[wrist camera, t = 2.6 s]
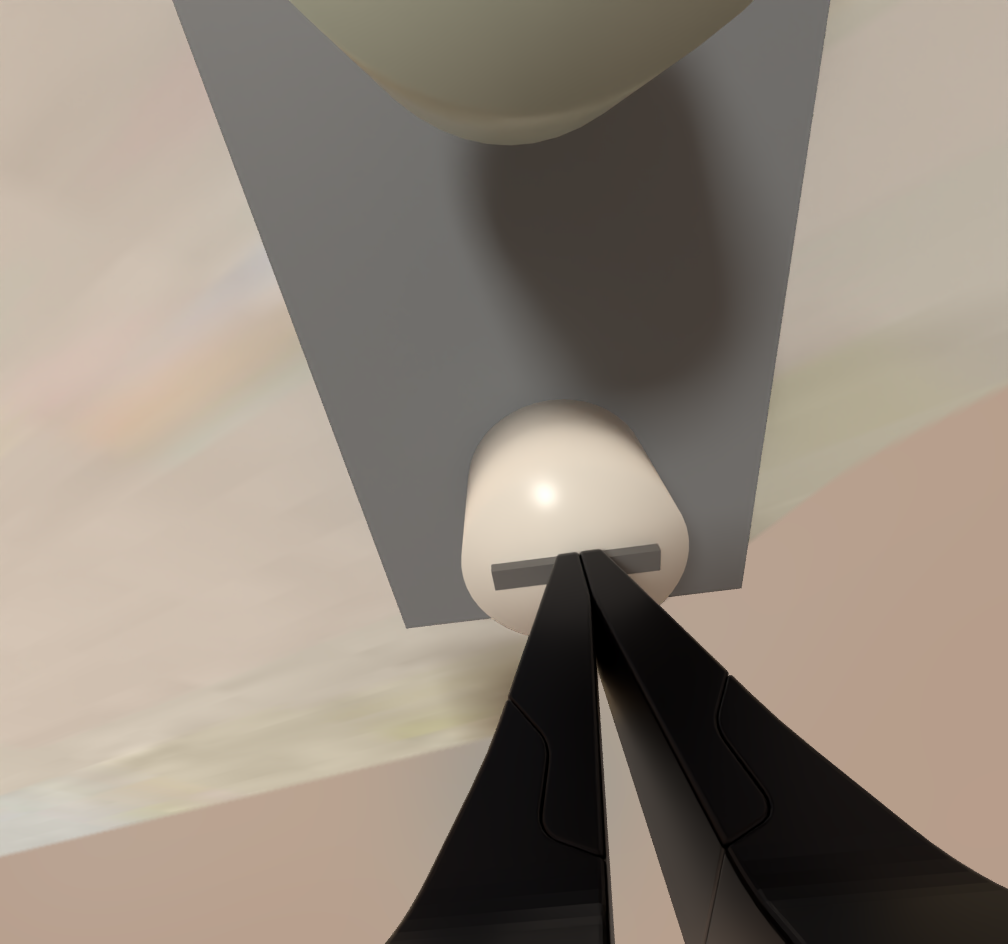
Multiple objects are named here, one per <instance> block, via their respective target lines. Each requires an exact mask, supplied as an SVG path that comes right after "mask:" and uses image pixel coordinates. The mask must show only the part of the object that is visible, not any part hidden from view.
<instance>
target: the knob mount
mask: <svg viewBox="0 0 1008 944" xmlns="http://www.w3.org/2000/svg"><path fill="white" fill-rule="evenodd" d="M173 3H174V6H175V8H176V11H177V14H178V17H179V19H180V22H181V25H182V27H183V30H184V33H185V35H186V38H187V41H188V43H189V46H190V49H191V51H192V54H193V57H194V60H195V62H196V65H197V68H198V70H199V73H200V76H201V78H202V81H203V84H204V86H205V89H206V92H207V94H208V97H209V100H210V102H211V105H212V108H213V111H214V113H215V116H216V119H217V121H218V124H219V127H220V129H221V132H222V135H223V137H224V140H225V143H226V145H227V148H228V151H229V153H230V156H231V159H232V162H233V164H234V167H235V170H236V172H237V175H238V178H239V180H240V183H241V186H242V188H243V191H244V194H245V196H246V199H247V202H248V204H249V207H250V210H251V213H252V215H253V218H254V221H255V223H256V226H257V229H258V231H259V234H260V237H261V239H262V242H263V245H264V247H265V250H266V253H267V255H268V258H269V261H270V264H271V266H272V269H273V272H274V274H275V277H276V280H277V282H278V285H279V288H280V290H281V293H282V296H283V298H284V301H285V304H286V307H287V309H288V312H289V315H290V317H291V320H292V323H293V325H294V328H295V331H296V333H297V336H298V339H299V341H300V344H301V347H302V349H303V352H304V355H305V358H306V360H307V363H308V366H309V368H310V371H311V374H312V376H313V379H314V382H315V384H316V387H317V390H318V392H319V395H320V398H321V400H322V403H323V406H324V409H325V411H326V414H327V417H328V419H329V422H330V425H331V427H332V430H333V433H334V435H335V438H336V441H337V443H338V446H339V449H340V451H341V454H342V457H343V460H344V462H345V465H346V468H347V470H348V473H349V476H350V478H351V481H352V484H353V486H354V489H355V492H356V494H357V497H358V500H359V503H360V505H361V508H362V511H363V513H364V516H365V519H366V521H367V524H368V527H369V529H370V532H371V535H372V537H373V540H374V543H375V545H376V548H377V551H378V554H379V556H380V559H381V562H382V564H383V567H384V570H385V572H386V575H387V578H388V580H389V583H390V586H391V588H392V591H393V594H394V596H395V599H396V602H397V605H398V607H399V610H400V613H401V615H402V618H403V621H404V623H405V626H406V628H414V627H422V626H431V625H439V624H447V623H456V622H464V621H472V620H481V619H489V618H491V617H490V616H488V615H487V614H486V613H485V612H484V611H483V610H482V609H481V608H480V607H479V606H478V605H477V603H476V602H475V601H474V600H473V598H472V597H471V595H470V593H469V591H468V589H467V587H466V584H465V581H464V578H463V573H462V567H461V555H462V543H463V532H464V520H465V509H466V498H467V486H468V475H469V469H470V463H471V460H472V457H473V454H474V452H475V450H476V448H477V446H478V444H479V443H480V442H481V440H482V439H483V437H484V436H485V435H486V434H487V432H488V431H489V430H490V429H491V428H492V427H493V426H494V425H495V424H497V423H498V422H499V421H500V420H501V419H503V418H504V417H506V416H508V415H509V414H511V413H512V412H514V411H516V410H518V409H521V408H523V407H525V406H528V405H531V404H534V403H538V402H543V401H548V400H560V399H563V400H577V401H583V402H588V403H591V404H594V405H597V406H600V407H602V408H604V409H606V410H608V411H610V412H611V413H613V414H615V415H616V416H618V417H619V418H620V419H621V420H622V421H624V422H625V423H626V424H627V425H628V426H629V428H630V429H631V430H632V431H633V432H634V434H635V436H636V437H637V439H638V441H639V442H640V444H641V446H642V447H643V449H644V451H645V453H646V454H647V456H648V458H649V459H650V461H651V463H652V465H653V466H654V468H655V470H656V471H657V473H658V475H659V477H660V478H661V480H662V482H663V483H664V485H665V487H666V489H667V490H668V492H669V494H670V495H671V497H672V499H673V501H674V502H675V504H676V506H677V507H678V509H679V511H680V513H681V514H682V516H683V519H684V521H685V524H686V526H687V531H688V536H689V553H688V559H687V563H686V566H685V569H684V572H683V574H682V576H681V578H680V580H679V582H678V584H677V585H676V587H675V588H674V590H673V591H672V593H671V594H670V595H669V596H668V597H672V596H680V595H689V594H697V593H705V592H714V591H722V590H730V589H739V588H741V587H742V581H743V574H744V568H745V561H746V554H747V548H748V541H749V535H750V528H751V521H752V515H753V508H754V501H755V495H756V488H757V482H758V475H759V468H760V462H761V455H762V448H763V442H764V435H765V429H766V422H767V415H768V409H769V402H770V395H771V389H772V382H773V376H774V369H775V362H776V356H777V349H778V342H779V336H780V329H781V323H782V316H783V309H784V303H785V296H786V289H787V283H788V276H789V270H790V263H791V256H792V250H793V243H794V236H795V230H796V223H797V217H798V210H799V203H800V197H801V190H802V183H803V177H804V170H805V164H806V157H807V150H808V144H809V137H810V131H811V124H812V117H813V111H814V104H815V97H816V91H817V84H818V78H819V71H820V64H821V58H822V51H823V44H824V38H825V31H826V25H827V18H828V11H829V5H830V0H753V1H752V2H751V3H750V4H749V5H748V6H747V7H746V8H745V9H744V10H743V11H742V12H741V13H740V14H739V15H737V16H736V17H735V18H734V19H732V20H731V21H730V22H729V23H727V24H726V25H725V26H724V27H722V28H721V29H720V30H719V31H717V32H716V33H715V34H714V35H712V36H711V37H710V38H709V39H707V40H706V41H705V42H704V43H702V44H701V45H700V46H698V47H697V48H696V49H694V50H693V51H691V52H690V53H689V54H687V55H686V56H684V57H683V58H681V59H680V60H679V61H677V62H676V63H674V64H673V65H672V66H670V67H669V68H667V69H666V70H664V71H663V72H662V73H660V74H659V75H657V76H656V77H655V78H653V79H652V80H650V81H649V82H647V83H646V84H645V85H643V86H642V87H640V88H639V89H638V90H636V91H635V92H633V93H632V94H630V95H629V96H628V97H626V98H625V99H623V100H622V101H621V102H619V103H618V104H616V105H615V106H613V107H612V108H611V109H609V110H608V111H606V112H605V113H604V114H602V115H600V116H599V117H597V118H595V119H594V120H592V121H590V122H589V123H587V124H585V125H584V126H582V127H580V128H578V129H576V130H573V131H571V132H569V133H566V134H564V135H562V136H559V137H556V138H552V139H548V140H545V141H541V142H537V143H530V144H520V145H495V144H485V143H480V142H476V141H471V140H467V139H463V138H460V137H458V136H455V135H452V134H450V133H447V132H445V131H442V130H440V129H438V128H436V127H434V126H433V125H431V124H429V123H427V122H426V121H424V120H422V119H420V118H418V117H417V116H415V115H414V114H413V113H411V112H410V111H409V110H408V109H406V108H405V107H404V106H402V105H401V104H400V103H398V102H397V101H396V100H394V99H393V98H392V97H391V96H390V95H389V94H388V93H387V92H386V91H385V90H384V89H383V88H382V87H380V86H379V85H378V84H377V83H376V82H375V81H374V80H373V79H372V78H371V77H370V76H369V75H368V74H367V73H365V72H364V71H363V70H362V69H361V68H360V67H359V66H358V65H357V64H356V63H355V62H354V61H353V60H351V59H350V58H349V57H348V56H347V55H346V54H345V53H344V52H343V51H342V50H341V49H340V48H339V47H338V46H336V45H335V44H334V43H333V42H332V41H331V40H330V39H329V38H328V37H327V36H326V35H325V34H324V33H322V32H321V31H320V30H319V29H318V28H317V27H316V26H315V25H314V24H313V23H312V22H311V21H310V20H309V19H307V18H306V17H305V16H304V15H303V14H302V13H301V12H300V11H299V10H298V9H297V8H296V7H295V6H294V5H293V4H292V3H291V2H290V1H289V0H173Z"/></svg>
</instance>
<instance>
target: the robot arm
mask: <svg viewBox="0 0 1008 944" xmlns="http://www.w3.org/2000/svg"><path fill="white" fill-rule="evenodd" d="M597 668H598V671H599V675H600V678H601V682H602V685H603V687H604V691H605V694H606V697H607V700H608V704H609V707H610V710H611V713H612V716H613V719H614V723H615V726H616V729H617V732H618V735H619V738H620V741H621V744H622V747H623V751H624V754H625V757H626V760H627V763H628V766H629V769H630V773H631V776H632V779H633V782H634V785H635V788H636V791H637V794H638V798H639V801H640V804H641V807H642V810H643V813H644V816H645V819H646V823H647V826H648V829H649V832H650V835H651V838H652V841H653V845H654V847H655V851H656V854H657V857H658V860H659V863H660V867H661V870H662V873H663V876H664V879H665V882H666V885H667V888H668V892H669V895H670V898H671V901H672V904H673V907H674V910H675V913H676V917H677V920H678V923H679V926H680V929H681V932H682V935H683V939H684V942H685V944H1008V889H1007V888H1005V887H1003V886H1001V885H999V884H997V883H995V882H993V881H991V880H989V879H988V878H986V877H984V876H982V875H980V874H979V873H977V872H975V871H973V870H972V869H970V868H968V867H967V866H965V865H964V864H962V863H961V862H959V861H957V860H956V859H954V858H953V857H951V856H950V855H948V854H947V853H945V852H944V851H942V850H941V849H940V848H938V847H937V846H935V845H934V844H932V843H931V842H930V841H929V840H927V839H926V838H925V837H923V836H922V835H921V834H920V833H918V832H917V831H916V830H914V829H913V828H912V827H911V826H909V825H908V824H907V823H905V822H904V821H903V820H902V819H901V818H899V817H898V816H897V815H896V814H894V813H893V812H892V811H891V810H889V809H888V808H887V807H886V806H884V805H883V804H882V803H881V802H880V801H878V800H877V799H876V798H874V797H873V796H872V795H871V794H870V793H868V792H867V791H866V790H865V789H863V788H862V787H861V786H860V785H858V784H857V783H856V782H855V781H853V780H852V779H851V778H849V777H848V776H847V775H846V774H844V773H843V772H842V771H841V770H840V769H838V768H837V767H836V766H835V765H833V764H832V763H831V762H830V761H828V760H827V759H826V758H825V757H824V756H822V755H821V754H820V753H818V752H817V751H816V750H815V749H814V748H812V747H811V746H810V745H809V744H807V743H806V742H805V741H804V740H803V739H802V738H800V737H799V736H798V735H797V734H796V733H794V732H793V731H792V730H791V729H790V728H788V727H787V726H786V725H785V724H784V723H782V722H781V721H780V720H779V719H778V718H777V717H776V716H775V715H774V714H772V713H771V712H770V711H769V710H768V709H767V708H766V707H765V706H764V705H763V704H762V703H760V702H759V701H758V700H757V699H756V698H755V697H754V696H753V695H752V694H751V693H750V692H749V691H747V689H745V687H744V686H743V685H741V683H739V682H738V681H737V680H736V679H735V678H734V677H733V676H732V675H729V676H728V672H727V670H726V669H725V668H724V667H723V666H722V665H721V664H720V663H719V662H718V661H716V660H715V659H714V658H713V657H712V656H711V655H710V654H709V653H708V652H707V651H706V650H705V649H704V648H703V647H702V646H701V645H700V644H699V643H698V642H697V641H696V640H695V639H694V638H693V637H692V636H691V635H690V634H689V633H687V632H686V631H685V630H684V629H683V628H682V627H681V626H680V625H679V624H678V623H677V622H676V621H675V620H674V619H673V618H672V617H671V616H670V615H669V614H668V613H667V612H666V611H664V609H663V608H662V607H661V606H660V605H658V604H657V603H656V602H655V601H654V600H653V599H652V598H651V597H650V596H649V595H648V594H647V593H646V592H645V591H644V590H643V589H642V588H641V587H640V586H639V585H638V584H637V583H636V582H635V581H634V580H633V579H632V578H631V577H629V576H628V575H627V574H626V573H625V572H624V571H623V570H622V569H621V568H620V567H619V566H618V565H617V564H616V563H615V562H614V561H613V560H612V559H611V558H610V557H609V556H608V555H607V554H606V553H605V552H604V551H602V550H601V549H593V550H585V551H581V552H580V554H578V553H577V552H570V553H562V554H558V555H557V557H556V559H555V561H554V564H553V567H552V570H551V573H550V576H549V579H548V582H547V585H546V588H545V590H544V593H543V596H542V599H541V602H540V605H539V608H538V611H537V614H536V617H535V619H534V622H533V625H532V628H531V631H530V634H529V637H528V640H527V643H526V646H525V648H524V651H523V654H522V657H521V660H520V663H519V666H518V669H517V672H516V675H515V678H514V680H513V683H512V686H511V689H510V692H509V695H508V700H507V701H506V703H505V706H504V709H503V712H502V714H501V717H500V720H499V723H498V726H497V728H496V731H495V733H494V736H493V739H492V741H491V744H490V746H489V749H488V752H487V754H486V756H485V759H484V761H483V763H482V765H481V767H480V769H479V772H478V774H477V776H476V778H475V780H474V783H473V785H472V787H471V789H470V791H469V793H468V795H467V797H466V799H465V801H464V803H463V805H462V808H461V809H460V811H459V813H458V815H457V817H456V820H455V822H454V824H453V826H452V828H451V830H450V832H449V834H448V836H447V838H446V840H445V842H444V844H443V846H442V848H441V850H440V852H439V854H438V856H437V858H436V860H435V862H434V864H433V866H432V868H431V870H430V872H429V874H428V876H427V878H426V880H425V882H424V884H423V886H422V888H421V890H420V892H419V893H418V895H417V897H416V899H415V900H414V902H413V904H412V906H411V907H410V909H409V911H408V912H407V914H406V916H405V917H404V919H403V920H402V922H401V923H400V924H399V926H398V927H397V929H396V930H395V931H394V933H393V934H392V935H391V937H390V938H389V939H388V941H387V942H386V943H385V944H615V938H614V924H613V923H614V922H613V908H612V893H611V876H610V861H609V846H608V830H607V814H606V799H605V784H604V768H603V753H602V738H601V723H600V707H599V691H598V677H597Z"/></svg>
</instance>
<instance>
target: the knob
mask: <svg viewBox="0 0 1008 944" xmlns="http://www.w3.org/2000/svg"><path fill="white" fill-rule="evenodd" d="M593 549H601V550H602V551H604V552H605V553H606V554H607V555H608V556H609V557H610V558H611V559H612V560H613V561H614V562H615V563H616V564H617V565H618V566H619V567H620V568H621V569H622V570H623V571H624V572H625V573H626V574H627V575H628V576H629V577H631V578H632V579H633V580H634V581H635V582H636V583H637V584H638V585H639V586H640V587H641V588H642V589H643V590H644V591H645V592H646V593H647V594H648V595H649V596H650V597H651V598H652V599H653V600H654V601H655V602H656V603H657V604H658V605H660V604H661V603H663V602H664V601H665V599H666V598H667V597H668V596H669V595H670V594H671V593H672V591H673V590H674V588H675V587H676V585H677V584H678V582H679V580H680V578H681V576H682V574H683V572H684V569H685V566H686V563H687V559H688V553H689V536H688V531H687V526H686V524H685V521H684V519H683V516H682V514H681V513H680V511H679V509H678V507H677V506H676V504H675V502H674V501H673V499H672V497H671V495H670V494H669V492H668V490H667V489H666V487H665V485H664V483H663V482H662V480H661V478H660V477H659V475H658V473H657V471H656V470H655V468H654V466H653V465H652V463H651V461H650V459H649V458H648V456H647V454H646V453H645V451H644V449H643V447H642V446H641V444H640V442H639V441H638V439H637V437H636V436H635V434H634V432H633V431H632V430H631V429H630V428H629V426H628V425H627V424H626V423H625V422H624V421H622V420H621V419H620V418H619V417H618V416H616V415H615V414H613V413H611V412H610V411H608V410H606V409H604V408H602V407H600V406H597V405H594V404H591V403H588V402H583V401H577V400H563V399H560V400H548V401H543V402H538V403H534V404H531V405H528V406H525V407H523V408H521V409H518V410H516V411H514V412H512V413H511V414H509V415H508V416H506V417H504V418H503V419H501V420H500V421H499V422H498V423H497V424H495V425H494V426H493V427H492V428H491V429H490V430H489V431H488V432H487V434H486V435H485V436H484V437H483V439H482V440H481V442H480V443H479V444H478V446H477V448H476V450H475V452H474V454H473V457H472V460H471V463H470V469H469V475H468V486H467V498H466V509H465V520H464V532H463V543H462V555H461V567H462V573H463V578H464V581H465V584H466V587H467V589H468V591H469V593H470V595H471V597H472V598H473V600H474V601H475V602H476V603H477V605H478V606H479V607H480V608H481V609H482V610H483V611H484V612H485V613H486V614H487V615H488V616H490V617H491V618H492V619H494V620H495V621H496V622H498V623H500V624H501V625H503V626H505V627H507V628H509V629H511V630H514V631H516V632H518V633H522V634H525V635H528V636H529V634H530V631H531V628H532V625H533V622H534V619H535V617H536V614H537V611H538V608H539V605H540V602H541V599H542V596H543V593H544V590H545V588H546V585H547V582H548V579H549V576H550V573H551V570H552V567H553V564H554V561H555V559H556V557H557V555H558V554H562V553H570V552H577V553H578V554H580V552H581V551H585V550H593Z"/></svg>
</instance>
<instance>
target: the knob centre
mask: <svg viewBox="0 0 1008 944" xmlns="http://www.w3.org/2000/svg"><path fill="white" fill-rule="evenodd" d="M289 1H290V2H291V3H292V4H293V5H294V6H295V7H296V8H297V9H298V10H299V11H300V12H301V13H302V14H303V15H304V16H305V17H306V18H307V19H309V20H310V21H311V22H312V23H313V24H314V25H315V26H316V27H317V28H318V29H319V30H320V31H321V32H322V33H324V34H325V35H326V36H327V37H328V38H329V39H330V40H331V41H332V42H333V43H334V44H335V45H336V46H338V47H339V48H340V49H341V50H342V51H343V52H344V53H345V54H346V55H347V56H348V57H349V58H350V59H351V60H353V61H354V62H355V63H356V64H357V65H358V66H359V67H360V68H361V69H362V70H363V71H364V72H365V73H367V74H368V75H369V76H370V77H371V78H372V79H373V80H374V81H375V82H376V83H377V84H378V85H379V86H380V87H382V88H383V89H384V90H385V91H386V92H387V93H388V94H389V95H390V96H391V97H392V98H393V99H394V100H396V101H397V102H398V103H400V104H401V105H402V106H404V107H405V108H406V109H408V110H409V111H410V112H411V113H413V114H414V115H415V116H417V117H418V118H420V119H422V120H424V121H426V122H427V123H429V124H431V125H433V126H434V127H436V128H438V129H440V130H442V131H445V132H447V133H450V134H452V135H455V136H458V137H460V138H463V139H467V140H471V141H476V142H480V143H485V144H495V145H520V144H530V143H537V142H541V141H545V140H548V139H552V138H556V137H559V136H562V135H564V134H566V133H569V132H571V131H573V130H576V129H578V128H580V127H582V126H584V125H585V124H587V123H589V122H590V121H592V120H594V119H595V118H597V117H599V116H600V115H602V114H604V113H605V112H606V111H608V110H609V109H611V108H612V107H613V106H615V105H616V104H618V103H619V102H621V101H622V100H623V99H625V98H626V97H628V96H629V95H630V94H632V93H633V92H635V91H636V90H638V89H639V88H640V87H642V86H643V85H645V84H646V83H647V82H649V81H650V80H652V79H653V78H655V77H656V76H657V75H659V74H660V73H662V72H663V71H664V70H666V69H667V68H669V67H670V66H672V65H673V64H674V63H676V62H677V61H679V60H680V59H681V58H683V57H684V56H686V55H687V54H689V53H690V52H691V51H693V50H694V49H696V48H697V47H698V46H700V45H701V44H702V43H704V42H705V41H706V40H707V39H709V38H710V37H711V36H712V35H714V34H715V33H716V32H717V31H719V30H720V29H721V28H722V27H724V26H725V25H726V24H727V23H729V22H730V21H731V20H732V19H734V18H735V17H736V16H737V15H739V14H740V13H741V12H742V11H743V10H744V9H745V8H746V7H747V6H748V5H749V4H750V3H751V2H752V1H753V0H289Z"/></svg>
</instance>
